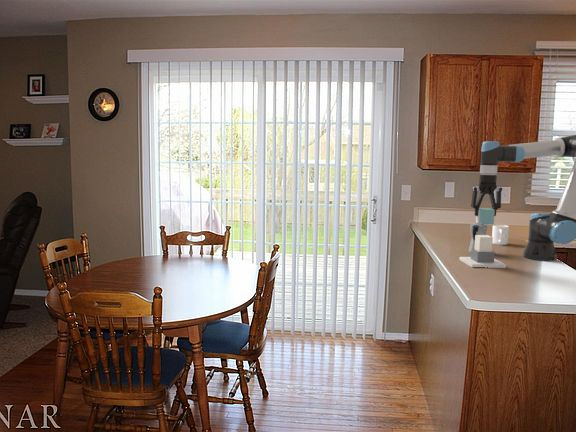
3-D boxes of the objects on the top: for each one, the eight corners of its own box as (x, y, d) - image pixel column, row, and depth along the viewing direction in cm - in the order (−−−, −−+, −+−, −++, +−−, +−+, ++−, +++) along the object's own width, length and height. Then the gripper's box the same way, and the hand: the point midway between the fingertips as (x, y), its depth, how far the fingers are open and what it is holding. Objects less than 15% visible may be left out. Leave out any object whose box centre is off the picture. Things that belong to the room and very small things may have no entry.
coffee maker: (471, 248, 272) (473, 216, 269) (488, 251, 267) (490, 218, 264) (463, 253, 260) (466, 219, 257) (481, 255, 255) (483, 221, 252)
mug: (492, 245, 282) (493, 227, 281) (491, 242, 293) (492, 224, 292) (508, 246, 279) (510, 228, 278) (506, 243, 291) (508, 225, 289)
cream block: (486, 249, 238) (487, 235, 238) (491, 251, 233) (492, 237, 232) (474, 249, 238) (475, 234, 237) (479, 251, 232) (480, 237, 232)
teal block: (488, 222, 237) (489, 208, 236) (493, 224, 231) (494, 209, 230) (475, 222, 236) (476, 208, 236) (480, 224, 231) (482, 209, 230)
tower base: (491, 260, 244) (492, 247, 243) (505, 267, 228) (506, 254, 228) (459, 259, 244) (460, 246, 243) (471, 267, 228) (472, 253, 227)
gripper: (504, 174, 234) (500, 222, 237) (465, 173, 234) (462, 221, 237) (512, 175, 227) (508, 224, 230) (471, 174, 226) (467, 223, 230)
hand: (484, 222), depth 234 cm, fingers closed on teal block, 6 cm apart
